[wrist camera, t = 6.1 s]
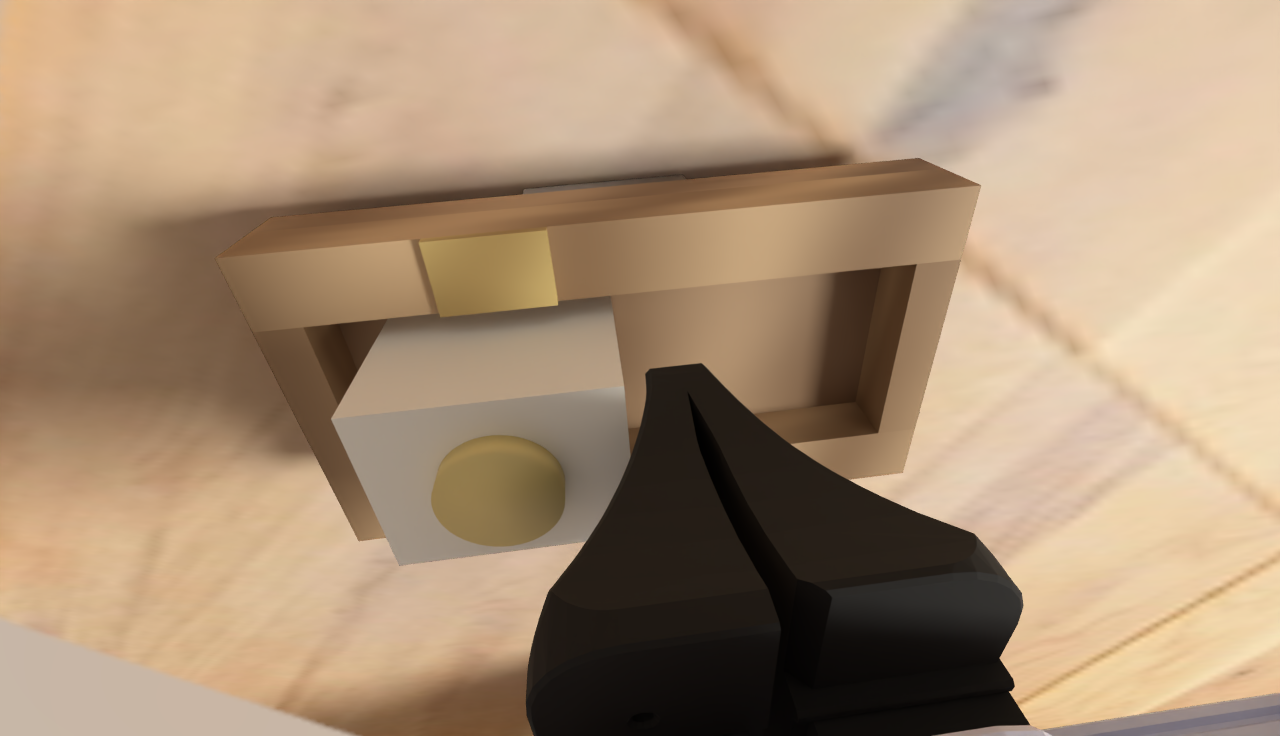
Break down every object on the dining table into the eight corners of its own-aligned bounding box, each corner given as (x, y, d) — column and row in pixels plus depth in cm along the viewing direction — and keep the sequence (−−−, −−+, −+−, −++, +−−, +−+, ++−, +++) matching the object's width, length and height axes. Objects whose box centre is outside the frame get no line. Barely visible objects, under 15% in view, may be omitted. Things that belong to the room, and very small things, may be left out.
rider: (609, 289, 13) (626, 402, 9) (622, 418, 15) (640, 554, 12) (392, 310, 13) (320, 438, 9) (436, 440, 15) (393, 586, 11)
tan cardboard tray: (894, 147, 14) (987, 187, 11) (848, 397, 19) (906, 477, 16) (292, 201, 13) (208, 262, 10) (393, 450, 18) (356, 547, 15)
